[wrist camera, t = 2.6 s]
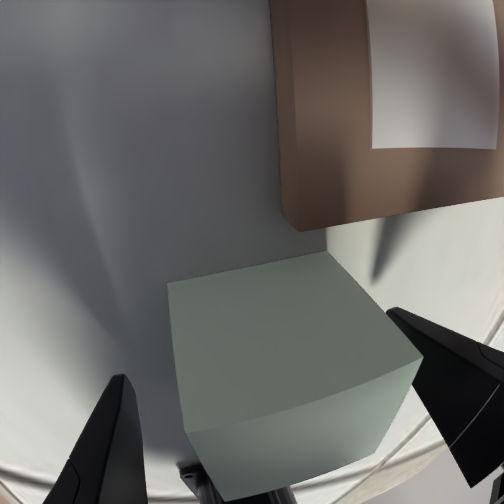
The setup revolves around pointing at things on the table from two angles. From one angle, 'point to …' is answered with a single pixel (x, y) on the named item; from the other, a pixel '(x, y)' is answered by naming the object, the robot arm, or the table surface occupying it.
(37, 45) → the table surface
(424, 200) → the tower base
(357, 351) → the brick sage
